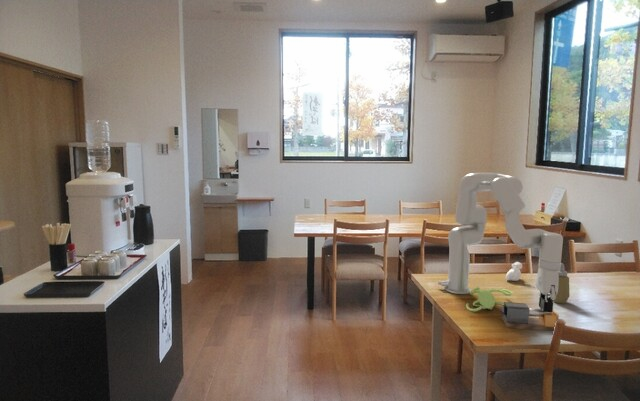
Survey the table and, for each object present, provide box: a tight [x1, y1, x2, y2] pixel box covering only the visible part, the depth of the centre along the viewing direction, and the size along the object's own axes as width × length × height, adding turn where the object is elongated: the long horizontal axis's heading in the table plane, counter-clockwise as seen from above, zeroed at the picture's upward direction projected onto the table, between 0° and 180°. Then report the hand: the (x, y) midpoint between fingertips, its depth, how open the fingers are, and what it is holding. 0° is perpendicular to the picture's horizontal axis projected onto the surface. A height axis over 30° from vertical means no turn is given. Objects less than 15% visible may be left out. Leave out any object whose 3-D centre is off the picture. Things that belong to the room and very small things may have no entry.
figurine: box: [465, 286, 514, 313], centre depth 189 cm, size 18×27×6 cm
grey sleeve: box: [502, 301, 530, 324], centre depth 168 cm, size 8×5×7 cm, turn 82°
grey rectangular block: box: [529, 297, 552, 318], centre depth 167 cm, size 12×4×7 cm, turn 82°
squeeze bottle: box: [549, 262, 570, 304], centre depth 193 cm, size 8×8×18 cm
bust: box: [505, 261, 523, 282], centre depth 224 cm, size 12×8×11 cm
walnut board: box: [501, 315, 555, 332], centre depth 168 cm, size 19×9×1 cm, turn 82°
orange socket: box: [538, 309, 560, 327], centre depth 167 cm, size 4×7×5 cm, turn 172°
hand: (545, 308), depth 166 cm, fingers closed on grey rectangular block, 4 cm apart
